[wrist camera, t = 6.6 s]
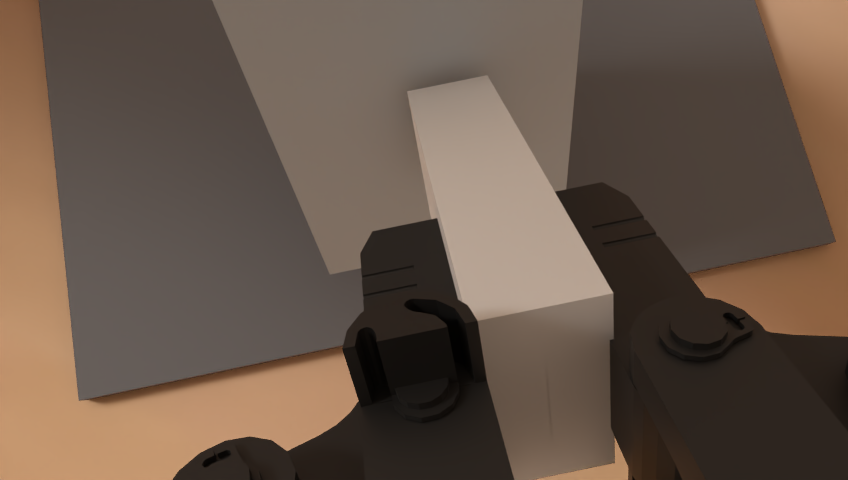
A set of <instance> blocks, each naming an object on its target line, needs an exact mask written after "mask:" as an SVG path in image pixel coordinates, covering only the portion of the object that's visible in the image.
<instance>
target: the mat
mask: <svg viewBox="0 0 848 480" xmlns="http://www.w3.org/2000/svg"><path fill="white" fill-rule="evenodd" d="M39 7H40V17H41V27H42V37H43V47H44V57H45V67H46V77H47V87H48V97H49V107H50V117H51V127H52V137H53V147H54V157H55V167H56V177H57V187H58V197H59V207H60V217H61V227H62V237H63V247H64V257H65V267H66V277H67V287H68V297H69V307H70V317H71V327H72V337H73V347H74V357H75V367H76V377H77V387H78V397H79V401H80V400H89V399H93V398H98V397H103V396H108V395H113V394H117V393H122V392H127V391H132V390H136V389H141V388H146V387H151V386H155V385H160V384H165V383H170V382H174V381H179V380H184V379H189V378H193V377H198V376H203V375H208V374H212V373H217V372H222V371H227V370H232V369H236V368H241V367H246V366H251V365H255V364H260V363H265V362H270V361H274V360H279V359H284V358H289V357H293V356H298V355H303V354H308V353H312V352H317V351H322V350H327V349H331V348H336V347H341V346H343V344H344V340H345V336H346V332H347V329H348V328H349V327H350V326H351V324H352V323H353V322H354V321H355V319H356V318H357V317H358V316H359V314H360V313H362V312H363V311H364V306H363V300H364V298H363V290H362V275H361V268H359V269H354V270H349V271H345V272H340V273H335V274H329V271H328V269H327V267H326V264H325V262H324V260H323V257H322V255H321V253H320V250H319V248H318V246H317V243H316V241H315V239H314V236H313V234H312V232H311V229H310V227H309V225H308V222H307V220H306V218H305V215H304V213H303V211H302V208H301V206H300V204H299V201H298V199H297V197H296V194H295V192H294V190H293V187H292V185H291V183H290V181H289V178H288V176H287V174H286V171H285V169H284V167H283V164H282V162H281V160H280V157H279V155H278V153H277V150H276V148H275V146H274V143H273V141H272V139H271V136H270V134H269V132H268V129H267V127H266V125H265V122H264V120H263V118H262V115H261V113H260V111H259V108H258V106H257V104H256V101H255V99H254V97H253V94H252V92H251V90H250V87H249V85H248V83H247V80H246V78H245V76H244V74H243V71H242V69H241V67H240V64H239V62H238V60H237V57H236V55H235V53H234V50H233V48H232V46H231V43H230V41H229V39H228V36H227V34H226V32H225V29H224V27H223V25H222V22H221V20H220V18H219V15H218V13H217V11H216V8H215V6H214V4H213V1H212V0H39ZM600 182H603V183H605V184H607V185H609V186H611V187H613V188H614V189H616V190H618V191H620V192H622V193H624V194H626V195H628V196H629V197H630V199H631V200H632V201H633V202H634V204H635V205H636V206H637V208H638V209H639V210H640V212H641V213H642V214H643V216H644V220H647V221H648V222H649V224H650V225H651V226H652V227H653V229H654V230H655V231H656V235H657V237H660V238H661V239H662V241H663V242H664V243H665V245H666V246H667V247H668V249H669V250H670V251H671V252H672V254H673V255H674V256H675V258H676V259H677V260H678V262H679V263H680V264H681V266H682V267H683V268H684V270H685V271H686V272H687V274H688V273H693V272H698V271H703V270H708V269H712V268H717V267H722V266H727V265H731V264H736V263H741V262H746V261H750V260H755V259H760V258H765V257H769V256H774V255H779V254H784V253H788V252H793V251H798V250H803V249H807V248H812V247H817V246H822V245H826V244H830V243H833V242H836V241H835V238H834V235H833V232H832V229H831V226H830V223H829V220H828V217H827V214H826V211H825V208H824V205H823V202H822V199H821V196H820V193H819V190H818V187H817V184H816V181H815V178H814V175H813V172H812V169H811V166H810V163H809V160H808V157H807V154H806V151H805V148H804V145H803V143H802V140H801V137H800V134H799V131H798V128H797V125H796V122H795V119H794V116H793V113H792V110H791V107H790V104H789V101H788V98H787V95H786V92H785V89H784V86H783V83H782V80H781V77H780V74H779V71H778V68H777V65H776V62H775V59H774V56H773V53H772V50H771V47H770V44H769V41H768V38H767V35H766V32H765V30H764V27H763V24H762V21H761V18H760V15H759V12H758V9H757V6H756V3H755V0H583V5H582V16H581V28H580V39H579V50H578V62H577V73H576V84H575V96H574V107H573V118H572V130H571V141H570V152H569V163H568V175H567V186H566V189H570V188H575V187H580V186H585V185H590V184H595V183H600Z"/></svg>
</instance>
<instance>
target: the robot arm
mask: <svg viewBox="0 0 848 480" xmlns="http://www.w3.org/2000/svg"><path fill="white" fill-rule="evenodd" d="M407 94H408V99H409V105H410V110H411V115H412V120H413V126H414V131H415V136H416V142H417V147H418V152H419V158H420V163H421V168H422V173H423V179H424V184H425V189H426V195H427V200H428V205H429V210H430V216H431V219H430V220H425V221H420V222H415V223H411V224H406V225H401V226H396V227H391V228H386V229H381V230H376V231H372V233H371V235H370V237H369V238H368V240H367V242H366V244H365V246H364V247H363V249H362V251H361V253H360V259H361V275H362V290H363V298H364V300H363V306H364V311H363V312H362V313H360V314H359V316H358V317H357V318H356V319H355V321H354V322H353V323H352V324H351V326H350V327H349V328H348V329H347V332H346V336H345V340H344V344H343V348H342V349H343V353H344V356H345V359H346V362H347V365H348V368H349V371H350V375H351V378H352V381H353V384H354V387H355V390H356V393H357V397H358V400H359V402H358V403H357V404H356V406H355V407H354V408H353V410H352V411H351V413H349V414H348V415H347V416H346V417H345V418H344V419H343V420H342V421H340V422H339V423H338V424H337V425H336V426H334V427H332V428H331V429H329V430H328V431H326V432H324V433H323V434H321V435H319V436H317V437H315V438H313V439H311V440H309V441H307V442H305V443H303V444H301V445H299V446H297V447H295V448H293V449H291V450H289V451H286V450H284V449H283V448H281V447H280V446H279V445H277V444H276V443H275V442H273V441H272V440H267V439H261V438H255V437H245V438H239V439H233V440H228V441H224V442H222V443H220V444H218V445H216V446H214V447H211V448H209V449H207V450H205V451H203V452H201V453H200V454H198V455H197V456H196V457H195V458H194V459H192V460H191V461H190V462H189V463H188V464H186V465H185V466H184V467H183V468H182V469H180V470H179V471H178V473H177V474H176V476H175V477H174V478H173V480H534V479H539V478H543V477H548V476H553V475H558V474H563V473H568V472H573V471H577V470H582V469H587V468H592V467H597V466H602V465H606V464H611V463H615V445H614V436H615V438H616V440H617V443H618V445H619V447H620V449H621V451H622V454H623V456H624V458H625V460H626V463H627V465H628V467H629V470H628V480H848V337H838V336H808V335H789V334H779V333H771V332H767V331H765V330H764V328H763V327H762V326H761V325H760V324H759V323H758V322H757V321H756V320H754V319H753V318H752V317H751V316H750V315H748V314H747V313H746V312H745V311H744V310H742V309H740V308H737V307H735V306H733V305H730V304H728V303H726V302H723V301H721V300H717V299H711V298H706V297H705V296H704V295H703V293H702V292H701V291H700V289H699V288H698V287H697V285H696V284H695V283H694V281H693V280H692V279H691V277H690V276H689V275H688V274H687V272H686V271H685V270H684V268H683V267H682V266H681V264H680V263H679V262H678V260H677V259H676V258H675V256H674V255H673V254H672V252H671V251H670V250H669V249H668V247H667V246H666V245H665V243H664V242H663V241H662V239H661V238H660V237H657V235H656V231H655V230H654V229H653V227H652V226H651V225H650V224H649V222H648V221H647V220H644V216H643V214H642V213H641V212H640V210H639V209H638V208H637V206H636V205H635V204H634V202H633V201H632V200H631V199H630V197H629V196H628V195H626V194H624V193H622V192H620V191H618V190H616V189H614V188H613V187H611V186H609V185H607V184H605V183H603V182H600V183H595V184H590V185H585V186H580V187H575V188H570V189H565V190H561V191H556V192H555V191H554V190H553V188H552V186H551V184H550V183H549V181H548V179H547V178H546V176H545V174H544V172H543V171H542V169H541V167H540V165H539V164H538V162H537V160H536V158H535V157H534V155H533V153H532V152H531V150H530V148H529V146H528V145H527V143H526V141H525V139H524V138H523V136H522V134H521V133H520V131H519V129H518V127H517V126H516V124H515V122H514V120H513V119H512V117H511V115H510V113H509V112H508V110H507V108H506V107H505V105H504V103H503V101H502V100H501V98H500V96H499V94H498V93H497V91H496V89H495V88H494V86H493V84H492V82H491V81H490V79H489V77H488V75H485V76H480V77H476V78H471V79H466V80H461V81H456V82H451V83H446V84H441V85H436V86H431V87H426V88H421V89H416V90H411V91H407Z"/></svg>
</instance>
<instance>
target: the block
mask: <svg viewBox="0 0 848 480" xmlns="http://www.w3.org/2000/svg"><path fill="white" fill-rule="evenodd" d="M212 1H213V4H214V6H215V8H216V11H217V13H218V15H219V18H220V20H221V22H222V25H223V27H224V29H225V32H226V34H227V36H228V39H229V41H230V43H231V46H232V48H233V50H234V53H235V55H236V57H237V60H238V62H239V64H240V67H241V69H242V71H243V74H244V76H245V78H246V80H247V83H248V85H249V87H250V90H251V92H252V94H253V97H254V99H255V101H256V104H257V106H258V108H259V111H260V113H261V115H262V118H263V120H264V122H265V125H266V127H267V129H268V132H269V134H270V136H271V139H272V141H273V143H274V146H275V148H276V150H277V153H278V155H279V157H280V160H281V162H282V164H283V167H284V169H285V171H286V174H287V176H288V178H289V181H290V183H291V185H292V187H293V190H294V192H295V194H296V197H297V199H298V201H299V204H300V206H301V208H302V211H303V213H304V215H305V218H306V220H307V222H308V225H309V227H310V229H311V232H312V234H313V236H314V239H315V241H316V243H317V246H318V248H319V250H320V253H321V255H322V257H323V260H324V262H325V264H326V267H327V269H328V271H329V274H335V273H340V272H345V271H349V270H354V269H359V268H361V259H360V253H361V251H362V249H363V247H364V246H365V244H366V242H367V240H368V238H369V237H370V235H371V233H372V231H376V230H381V229H386V228H391V227H396V226H401V225H406V224H411V223H415V222H420V221H425V220H430V219H431V216H430V210H429V205H428V200H427V195H426V189H425V184H424V179H423V173H422V168H421V163H420V158H419V152H418V147H417V142H416V136H415V131H414V126H413V120H412V115H411V110H410V105H409V99H408V94H407V91H411V90H416V89H421V88H426V87H431V86H436V85H441V84H446V83H451V82H456V81H461V80H466V79H471V78H476V77H480V76H485V75H488V77H489V79H490V81H491V82H492V84H493V86H494V88H495V89H496V91H497V93H498V94H499V96H500V98H501V100H502V101H503V103H504V105H505V107H506V108H507V110H508V112H509V113H510V115H511V117H512V119H513V120H514V122H515V124H516V126H517V127H518V129H519V131H520V133H521V134H522V136H523V138H524V139H525V141H526V143H527V145H528V146H529V148H530V150H531V152H532V153H533V155H534V157H535V158H536V160H537V162H538V164H539V165H540V167H541V169H542V171H543V172H544V174H545V176H546V178H547V179H548V181H549V183H550V184H551V186H552V188H553V190H554V191H555V192H556V191H561V190H565V189H566V186H567V175H568V163H569V152H570V141H571V130H572V118H573V107H574V96H575V84H576V73H577V62H578V50H579V39H580V28H581V16H582V5H583V0H212Z"/></svg>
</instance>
